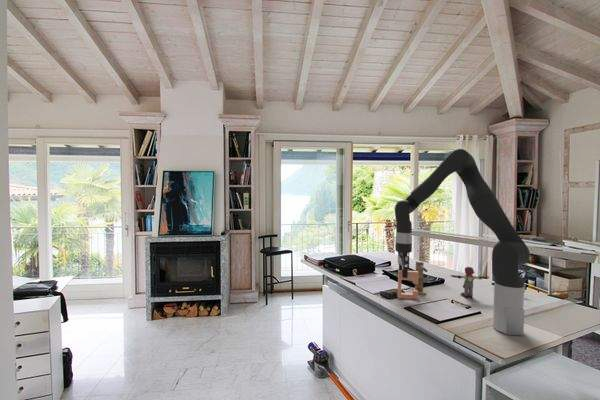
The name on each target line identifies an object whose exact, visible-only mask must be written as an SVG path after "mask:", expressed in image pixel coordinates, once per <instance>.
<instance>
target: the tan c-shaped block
mask: <svg viewBox="0 0 600 400" xmlns="http://www.w3.org/2000/svg"><path fill="white" fill-rule="evenodd" d="M418 274H419V272H418V271H416V270H408V277H407V278H403V277H402V270H399V269H398V270H397V298H398V299H404V300H405V299H406V300H408V299H410V300H418V299H419V294H418V291H417V290H412V292H410V293H409V292H402V281H407V280H408V281H412V284H413V285H415V284H418Z"/></svg>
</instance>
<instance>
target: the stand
mask: <svg viewBox="0 0 600 400" xmlns="http://www.w3.org/2000/svg"><path fill="white" fill-rule="evenodd" d="M415 271H418V272H419V274H418V284H414V287H411V290H412V291H413V290H417V291H418V295H420V296H421V295H422V296H423V295H425V296H427V292H426V291H425V289H424V272H425V273H427V272H428V269H427V268H425V267H424V262H423V261H421V260H420V261H419V260H417V261H415Z"/></svg>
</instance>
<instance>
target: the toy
mask: <svg viewBox="0 0 600 400" xmlns="http://www.w3.org/2000/svg"><path fill="white" fill-rule="evenodd" d="M464 273H465V275H453V274H450V277H452V278H457V279H464V281H463V282H464V283H463V285H462V288H463V290H464V291H463V292H461V293H460V296H462V297H463V298H465V299H468V298H469V299H473V294H474V292H473V291H474V290H473V289H474V280H475V279H476V280H484V279H489V278H490V276H484V275H483V276H481V275H473V274H475V270H474V268H473V267H471V266H466V267H464Z"/></svg>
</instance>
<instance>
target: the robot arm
mask: <svg viewBox="0 0 600 400" xmlns="http://www.w3.org/2000/svg"><path fill="white" fill-rule="evenodd" d="M453 173H456V174H457V175H458V177H459V178H460V180H461V181H462V183H463V185H464V188H465V190H466V195H467V200H468V201H469V204H470V207H471V208H472V209H473V212H474V213H475V215H476V217H477V218H478V219H479V220H480V221H481V222H482V223H483V224H484V225H485V226H487V227H488V228H489V230H491V231H492V232H493V233H494V234H495V236H496V238H497V239H498V242H497V243H496V244H495V245H493V247H492V248H493V249H492V251H491V271H492V272H491V273H492V275H493V278H494V279H493V280H494V282H493V283H494V285H493V314H492V315H493V316H492V317H493V320H492V321H493V322H492V327H493V329H494V330H496V331H498V332H500V333H501V334H505V335H507V336H508V335H509V336H522V337H523V336H524V331H525V329H524V327H525V309H524V306H525V305H524V303H525V302H524V301H525V292H524V290H525V279H524V278H523V276H520V275H519V266H523V265H526V264H527V263H528V262H529V261H530V258H531V251H530V250H529V247H528V246H527V244H526V242H524V240H523V239H522V237H521V236H520V234H518V232H517V231H516V230H515V228H514V227H513V225H512V223H511V222H510V219H509V218H508V216H507V214H506V213H505V211H504V209H503V208H502V206H501V204H500V202H499V200H498V198H497V197H496V195H495V194H494V192H493V191H492V189H491V188H490V186H489V185H488V183H487V182H486V181H485V179H484V178H483V176H482V175H481V172H480V169H479V168H478V164H477V162H476V161H475V158H474V156H473V155H472V154H470V153H469V152H468V151H467V150H465V149H464V148H456V149H453V150H452V151H451V152H450V153H448V155H446V157H445V158H444V159H443V160H442V162H440V164H439V165H438V166H437V167H436V168H435V169H434V170H433V172H432V173H431V174H429V176H428V177H426V178H425V179H424V180H423V181H422V182H421V183H420V184H418V186H416V187H415V188H414V189H412V191H411V192H410V194H409V195H408V196H407V197H406V198H405V199H404V200H403V199H401V200H399V201H397V202H396V204H395V206H394V216H395V221H396V225H395V226H396V227H395V228H396V231H395V232H396V233H395V242H394V243H395V244H394V245H395V246H394V247H395V251H396V253H397V264H398V270H402V277H403V278H407V277H408V271H410V256H408V254H409V253H412V252H413V236H412V235H413V232H412V231H413V229H412V228H413V222H412V221H411V220H410V217H411V216H410V214H411V213H413V212H414V211H415V210H416V209H417V208H418V207H419V206H420V205H421V204H422V203H424V202H425V201H426V200H428V199H429V198H430V197H431V196H433V194H435V192H437V190H438V189H439V187H440V186H441V184H442V183H443V182H444V181H445V179H447V177H449V176H450V175H452V174H453Z"/></svg>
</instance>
